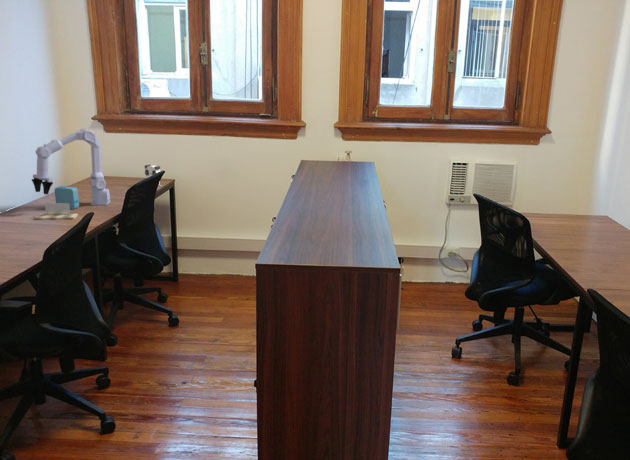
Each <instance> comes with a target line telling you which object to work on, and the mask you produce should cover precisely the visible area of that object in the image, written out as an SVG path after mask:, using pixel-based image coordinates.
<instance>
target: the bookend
mask: <svg viewBox="0 0 630 460" xmlns="http://www.w3.org/2000/svg"><path fill="white" fill-rule="evenodd" d="M44 206H45V207H44V209H45V213H39V214H37V215H36V216H35V217H33V220H36V221H38V220H39V221H40V220H41V221H42V220H45V221H46V220H47V221H48V220H55V221H56V220H75V219H76V218H77V217H78V216H79V213H71V209H70V207H69V203H56V202H50V203H49V202H46V203H44Z"/></svg>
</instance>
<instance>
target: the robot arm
mask: <svg viewBox="0 0 630 460" xmlns="http://www.w3.org/2000/svg"><path fill="white" fill-rule="evenodd" d="M75 141H84V142H86V143H87V144H89V145H90V150H91V151H90V152H91V153H90V154H91V174H90V178H89V185H90V186H91V196H92V202H91V203H90V205H91V206H98V205H99V206H105V205H106V206H107V205H109V204H110V203H111V194H110V190H109V189H108V188H106V185H107V182H106V180H105V176H104V175H103V169H102V166H103V165H102V147H101V146H102V144H101V140H100V139H99V138H98V136H97V133H95V131H93V130H90V129H86V128H80V129H79V130H75V131H73V133H70V134H68V135H66V136H65V137H63V138H62V139H52V140H51V141H50V142H48V143H44V144H43V145H42V146H40V145H39V146H37V148H36V150H35V154H36V156H37V157H36V158H37V159H36V174H32V178H31V181H32V184H33V187H34V190H35V193H40V192H41V190H42V189H41V187H42V188H43V194H44V195H49V193H50V189H51V187H52V185H53V183H54V182H53V178H51V177H50V176H49V165H50V164H49V163H50V162H49V157H50V156H51V155H53V154H55V153H56V152H58V151H60V150H62V148H63V147H64V146H65V145H67V144H69V143H72V142H75Z"/></svg>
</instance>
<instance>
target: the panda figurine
mask: <svg viewBox="0 0 630 460" xmlns="http://www.w3.org/2000/svg"><path fill="white" fill-rule="evenodd" d="M144 169H145V170H144V174H145V177H146V178H147V179H148V177H150V176H152V175H154V174H156V173H158V172H161V166H160V165H151V164H145V165H144ZM159 185H160V186H161V184H160V182H159Z"/></svg>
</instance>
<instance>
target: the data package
mask: <svg viewBox="0 0 630 460" xmlns="http://www.w3.org/2000/svg"><path fill="white" fill-rule="evenodd" d="M54 196H55V197H54V198H55V203H69V207H70V210H75V209H78V208H79V207H80V200H79V189H78V188H77V187H74V186H63V185H62V186H58V187H55V188H54Z"/></svg>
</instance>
